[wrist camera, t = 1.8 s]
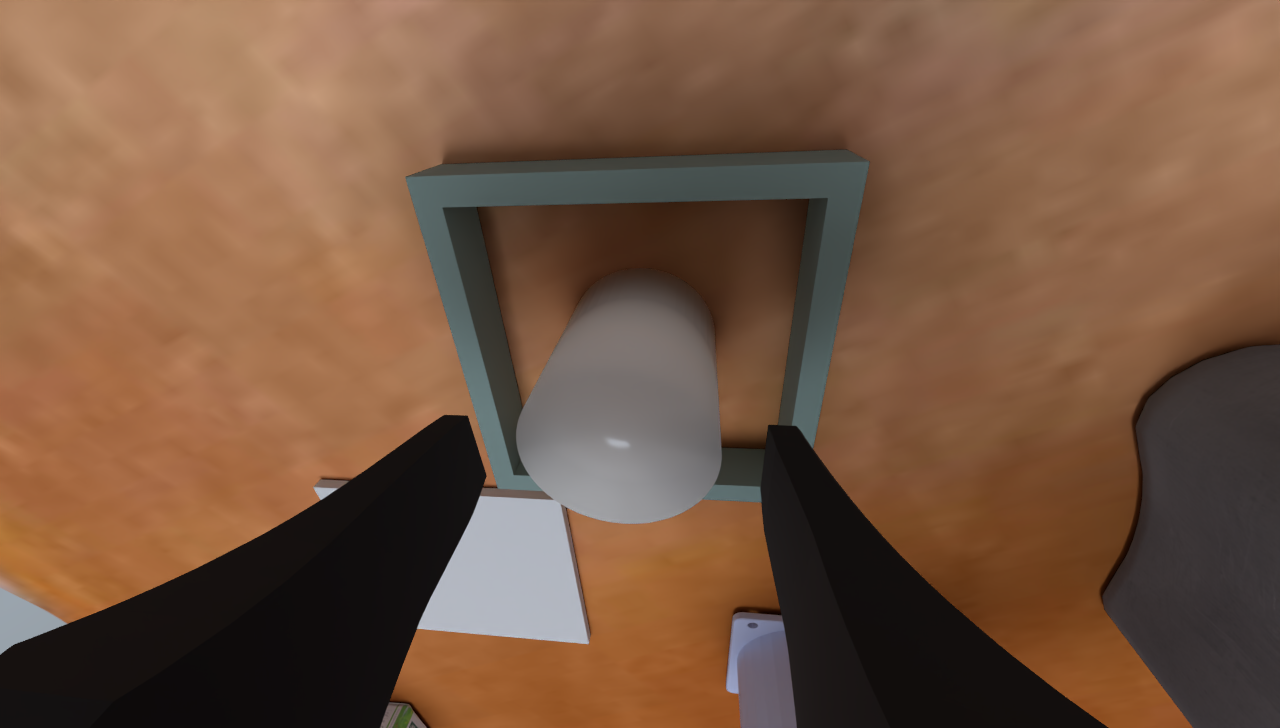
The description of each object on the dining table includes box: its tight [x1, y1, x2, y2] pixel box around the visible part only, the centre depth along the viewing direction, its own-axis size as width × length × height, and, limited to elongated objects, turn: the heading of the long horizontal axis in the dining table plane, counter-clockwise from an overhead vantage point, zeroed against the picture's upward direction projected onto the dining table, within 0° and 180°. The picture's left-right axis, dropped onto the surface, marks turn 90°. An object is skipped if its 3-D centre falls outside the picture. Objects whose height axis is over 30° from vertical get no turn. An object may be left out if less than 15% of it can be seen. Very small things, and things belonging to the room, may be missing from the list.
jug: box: [516, 268, 722, 524], centre depth 14 cm, size 7×5×6 cm
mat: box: [313, 479, 590, 644], centre depth 25 cm, size 12×12×1 cm
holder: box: [405, 150, 870, 502], centre depth 15 cm, size 12×12×2 cm
